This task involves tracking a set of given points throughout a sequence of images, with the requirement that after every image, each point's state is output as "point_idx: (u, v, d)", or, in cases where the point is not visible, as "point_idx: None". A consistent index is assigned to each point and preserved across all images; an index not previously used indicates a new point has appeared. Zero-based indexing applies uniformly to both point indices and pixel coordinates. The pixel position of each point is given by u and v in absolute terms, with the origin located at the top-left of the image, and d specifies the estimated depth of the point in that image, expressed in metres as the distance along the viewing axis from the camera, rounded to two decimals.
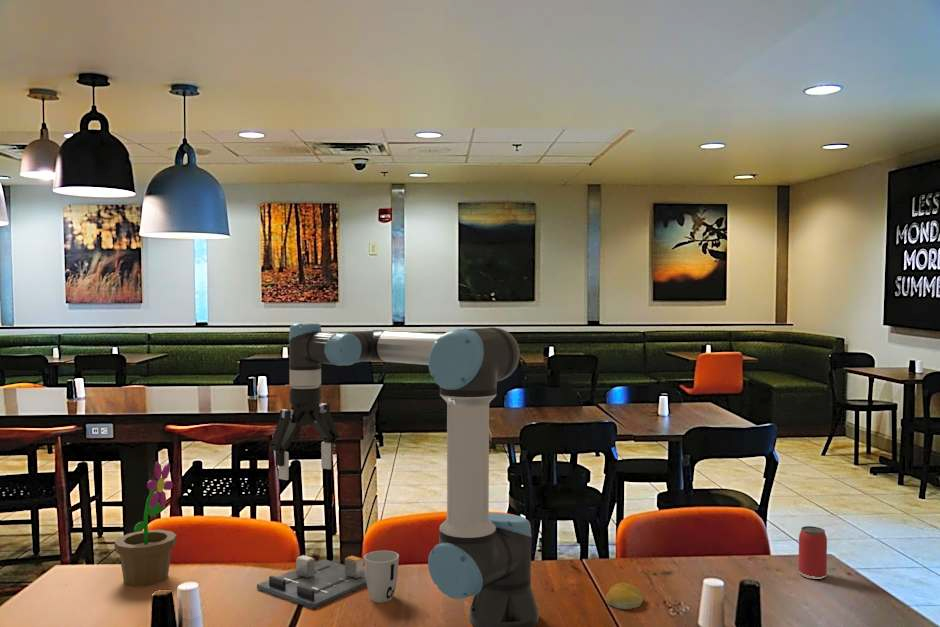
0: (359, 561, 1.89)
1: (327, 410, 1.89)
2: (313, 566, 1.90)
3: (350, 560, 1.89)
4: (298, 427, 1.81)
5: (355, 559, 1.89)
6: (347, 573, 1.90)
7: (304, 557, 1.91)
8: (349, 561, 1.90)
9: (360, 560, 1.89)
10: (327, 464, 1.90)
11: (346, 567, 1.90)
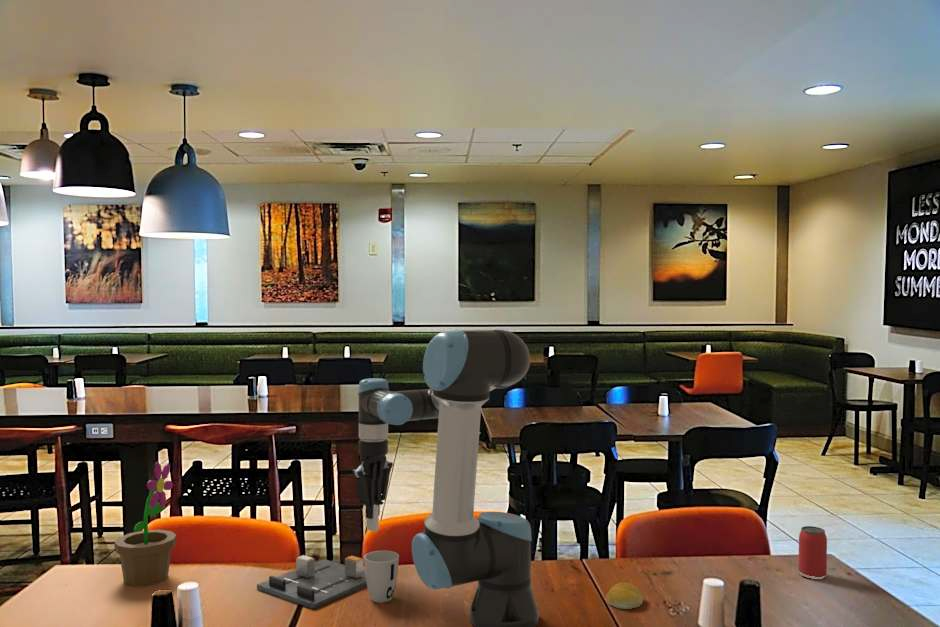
0: (359, 561, 1.89)
1: (389, 467, 1.99)
2: (313, 566, 1.90)
3: (350, 560, 1.89)
4: (374, 479, 1.94)
5: (355, 559, 1.89)
6: (347, 573, 1.90)
7: (304, 557, 1.91)
8: (349, 561, 1.90)
9: (360, 560, 1.89)
10: None
11: (346, 567, 1.90)
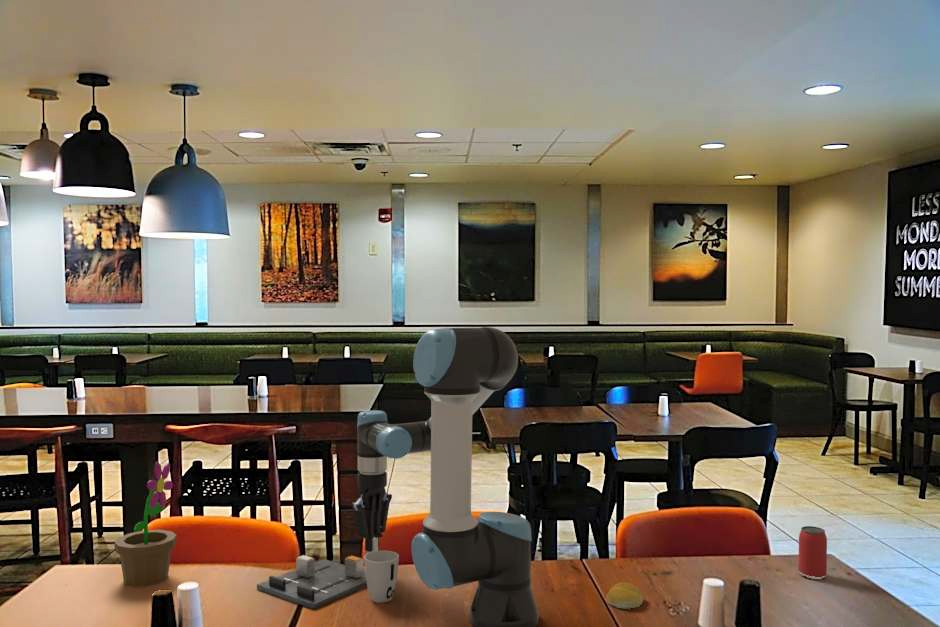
0: (359, 561, 1.89)
1: (388, 500, 1.99)
2: (313, 566, 1.90)
3: (350, 560, 1.89)
4: (373, 512, 1.94)
5: (355, 559, 1.89)
6: (347, 573, 1.90)
7: (304, 557, 1.91)
8: (349, 561, 1.90)
9: (360, 560, 1.89)
10: None
11: (346, 567, 1.90)
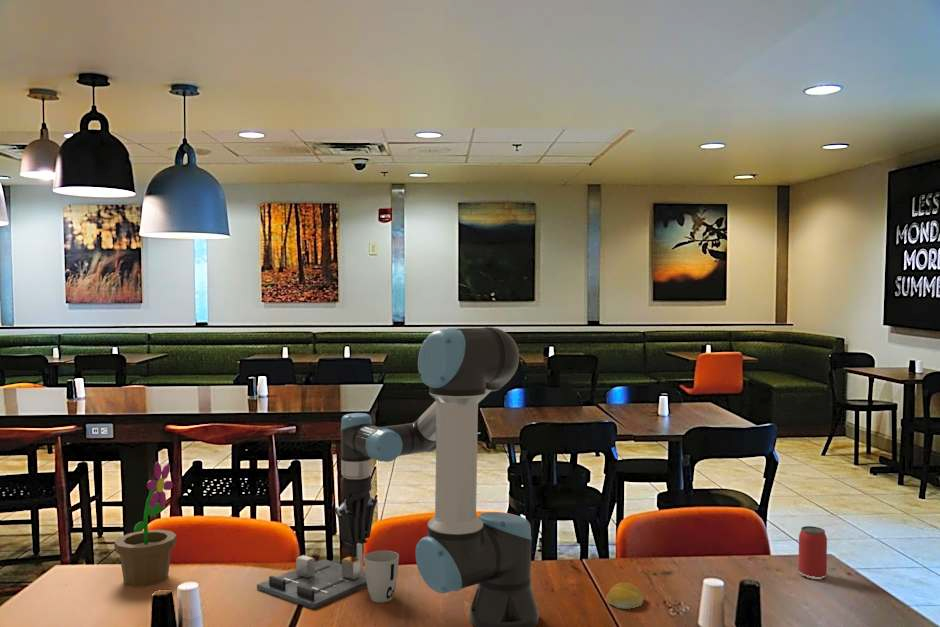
0: (356, 562, 1.88)
1: (373, 504, 1.94)
2: (313, 566, 1.90)
3: (347, 561, 1.89)
4: (357, 517, 1.89)
5: (352, 560, 1.88)
6: (344, 574, 1.89)
7: (304, 557, 1.91)
8: (346, 562, 1.89)
9: (357, 561, 1.89)
10: None
11: (343, 568, 1.89)
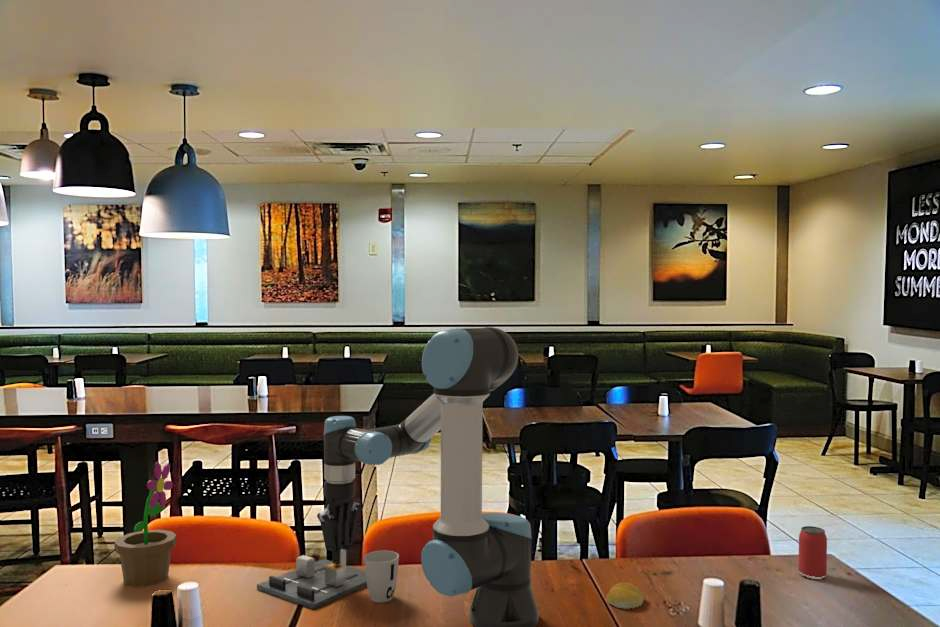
0: (339, 569, 1.84)
1: (357, 509, 1.89)
2: (313, 566, 1.90)
3: (330, 568, 1.84)
4: (340, 523, 1.84)
5: (335, 567, 1.84)
6: (327, 581, 1.85)
7: (304, 557, 1.91)
8: (329, 569, 1.84)
9: (340, 568, 1.84)
10: None
11: (326, 575, 1.85)
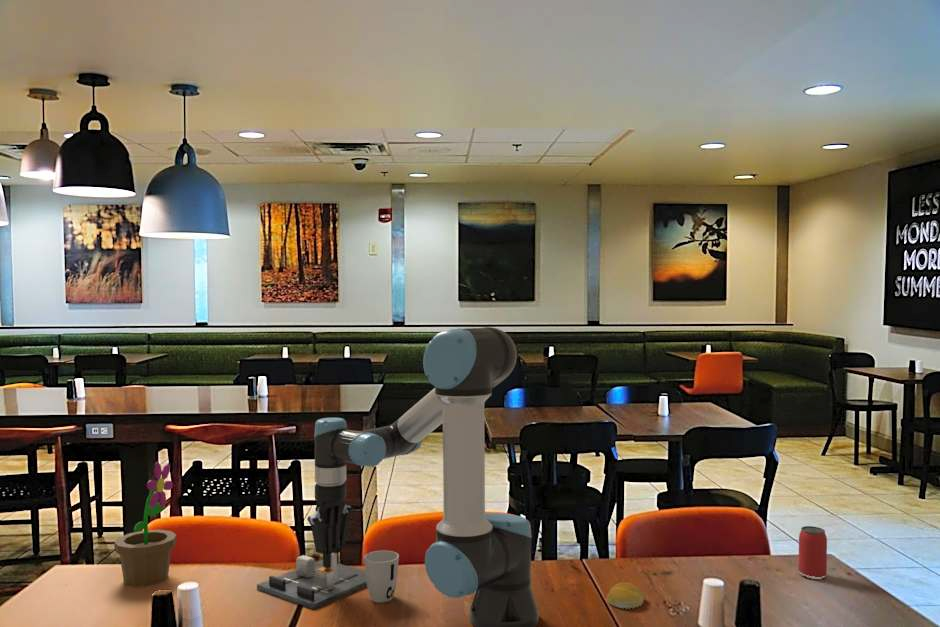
0: (330, 573, 1.81)
1: (348, 512, 1.87)
2: (313, 566, 1.90)
3: (321, 572, 1.81)
4: (331, 526, 1.82)
5: (326, 571, 1.81)
6: (318, 585, 1.82)
7: (304, 557, 1.91)
8: (320, 573, 1.82)
9: (331, 572, 1.81)
10: None
11: (317, 579, 1.82)
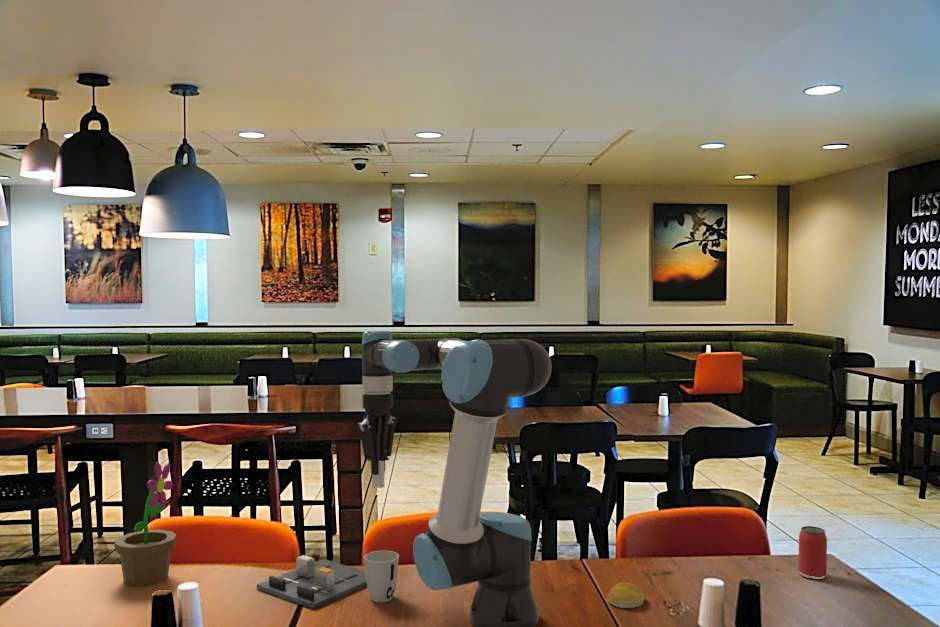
0: (330, 573, 1.81)
1: (394, 423, 1.94)
2: (313, 566, 1.90)
3: (320, 572, 1.81)
4: (379, 433, 1.88)
5: (326, 571, 1.81)
6: (317, 585, 1.82)
7: (304, 557, 1.91)
8: (319, 573, 1.82)
9: (331, 572, 1.81)
10: None
11: (316, 579, 1.82)
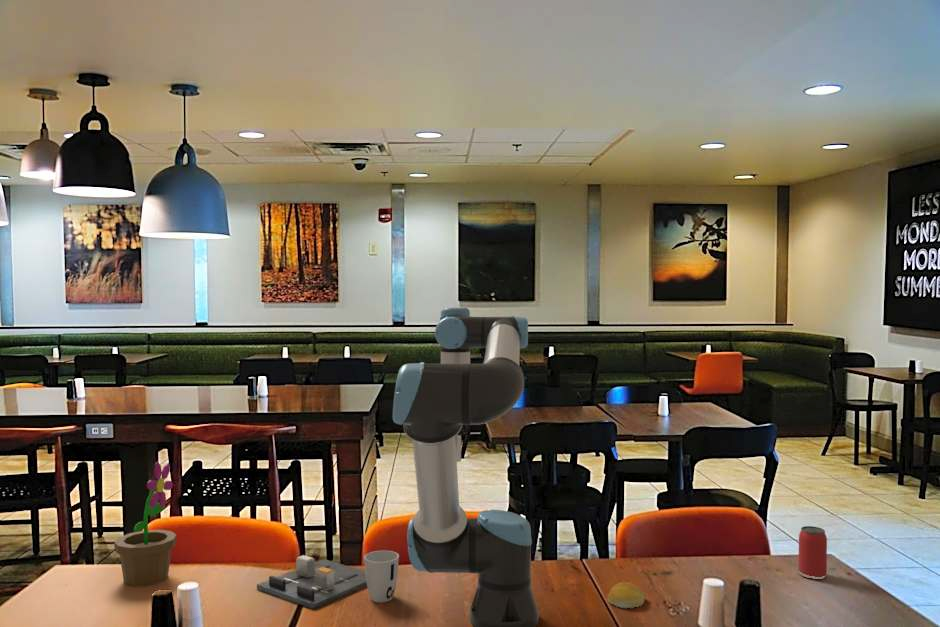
0: (330, 573, 1.81)
1: None
2: (313, 566, 1.90)
3: (320, 572, 1.81)
4: None
5: (326, 571, 1.81)
6: (317, 585, 1.82)
7: (304, 557, 1.91)
8: (319, 573, 1.82)
9: (331, 572, 1.81)
10: None
11: (316, 579, 1.82)
